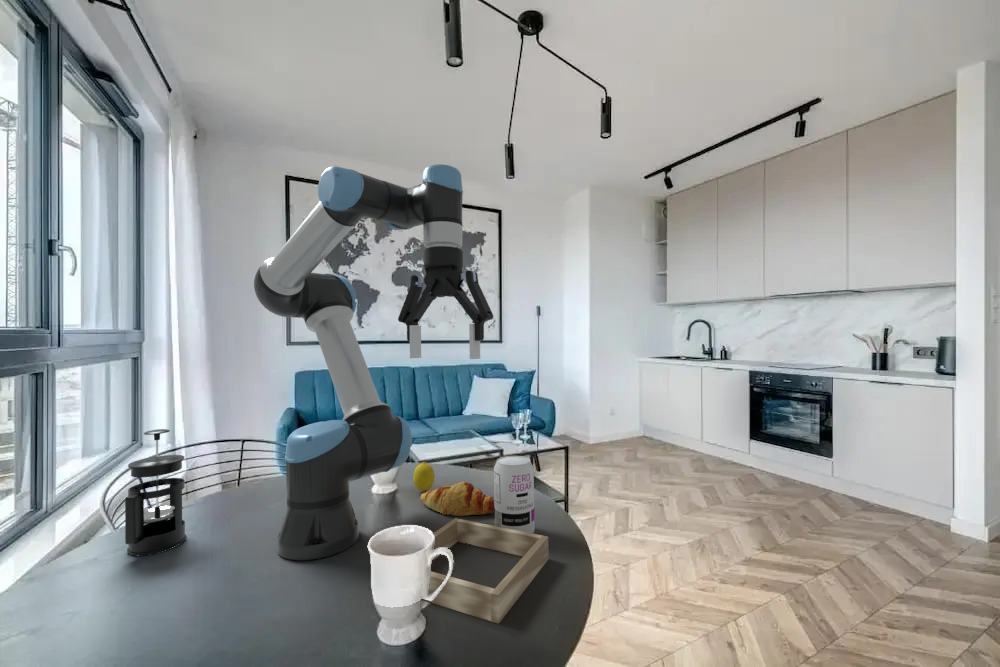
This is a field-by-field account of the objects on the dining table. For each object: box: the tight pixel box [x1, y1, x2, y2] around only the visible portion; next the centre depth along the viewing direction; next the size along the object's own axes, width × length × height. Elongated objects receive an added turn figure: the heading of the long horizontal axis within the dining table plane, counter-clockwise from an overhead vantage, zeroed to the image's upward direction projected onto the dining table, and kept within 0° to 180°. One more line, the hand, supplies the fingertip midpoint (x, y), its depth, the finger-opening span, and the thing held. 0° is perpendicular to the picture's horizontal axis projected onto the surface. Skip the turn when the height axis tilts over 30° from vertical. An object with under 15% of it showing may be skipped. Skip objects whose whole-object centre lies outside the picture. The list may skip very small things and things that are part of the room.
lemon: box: [412, 461, 435, 493], centre depth 115 cm, size 6×6×8 cm
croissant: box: [419, 480, 494, 517], centre depth 103 cm, size 21×10×8 cm, turn 70°
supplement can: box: [493, 455, 536, 534], centre depth 90 cm, size 8×8×15 cm
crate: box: [429, 517, 550, 625], centre depth 75 cm, size 20×20×4 cm
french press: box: [124, 428, 187, 556], centre depth 87 cm, size 12×9×23 cm
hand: (444, 358), depth 84 cm, fingers open, 13 cm apart
